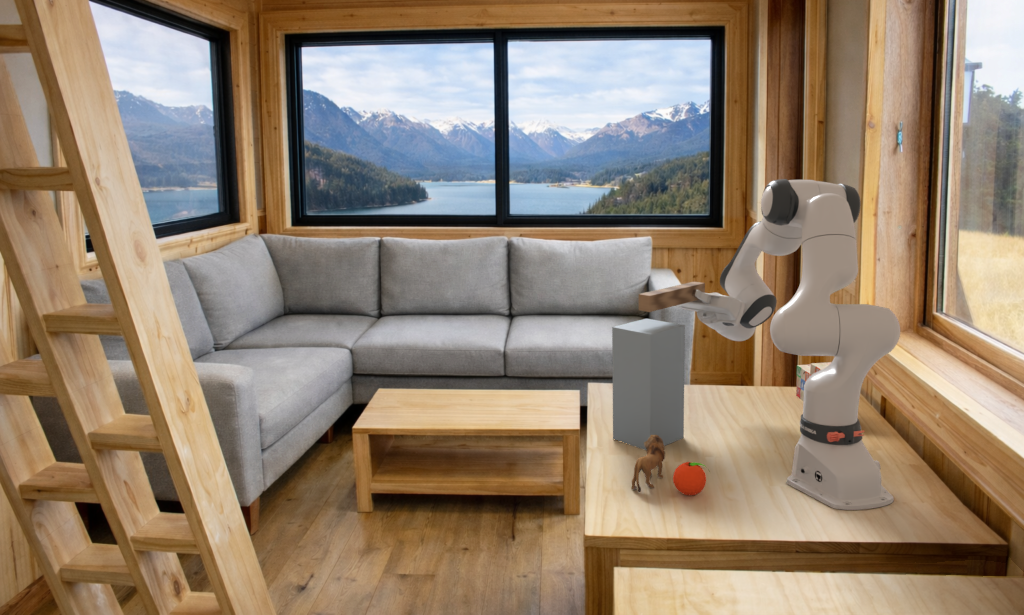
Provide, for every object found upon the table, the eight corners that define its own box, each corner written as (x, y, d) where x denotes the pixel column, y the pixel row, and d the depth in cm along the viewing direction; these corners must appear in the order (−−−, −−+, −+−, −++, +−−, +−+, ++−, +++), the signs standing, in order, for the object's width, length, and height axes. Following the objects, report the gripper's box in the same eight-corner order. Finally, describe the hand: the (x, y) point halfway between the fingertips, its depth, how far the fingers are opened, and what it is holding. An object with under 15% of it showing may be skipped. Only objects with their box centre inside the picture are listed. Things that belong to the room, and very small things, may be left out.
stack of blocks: (795, 395, 243) (797, 354, 241) (816, 394, 244) (818, 353, 241) (827, 420, 222) (829, 375, 220) (850, 419, 223) (853, 374, 220)
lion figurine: (645, 468, 194) (645, 430, 192) (668, 471, 192) (668, 433, 190) (627, 493, 181) (627, 453, 179) (652, 496, 179) (652, 456, 177)
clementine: (703, 485, 184) (704, 454, 182) (716, 498, 177) (716, 466, 175) (668, 489, 182) (668, 457, 181) (679, 502, 176) (679, 470, 174)
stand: (646, 426, 221) (646, 318, 215) (683, 437, 212) (684, 325, 207) (612, 439, 213) (612, 327, 207) (650, 451, 204) (650, 334, 198)
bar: (693, 296, 221) (693, 281, 220) (704, 298, 218) (704, 283, 217) (638, 310, 206) (638, 294, 206) (649, 312, 204) (649, 295, 203)
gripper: (686, 294, 233) (658, 275, 223) (750, 304, 218) (724, 284, 208) (678, 315, 232) (650, 297, 223) (743, 326, 217) (716, 307, 208)
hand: (686, 291), depth 215 cm, fingers closed on bar, 3 cm apart
